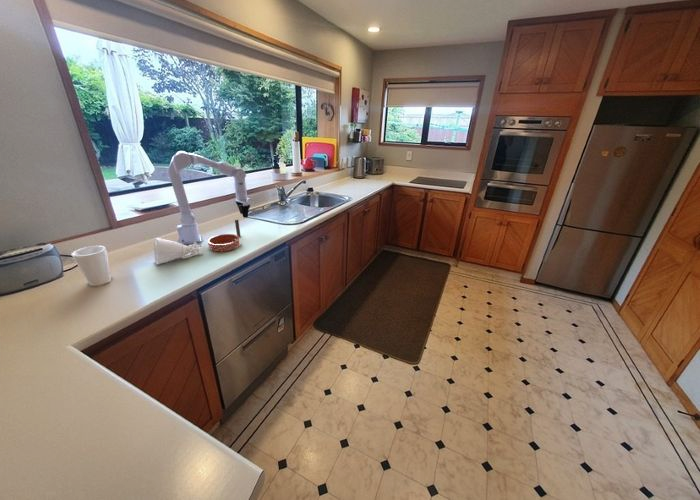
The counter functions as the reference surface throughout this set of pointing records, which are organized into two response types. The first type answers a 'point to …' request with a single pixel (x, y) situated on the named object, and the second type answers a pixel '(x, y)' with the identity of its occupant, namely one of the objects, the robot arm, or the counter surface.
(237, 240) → the bowl
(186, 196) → the robot arm
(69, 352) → the counter surface
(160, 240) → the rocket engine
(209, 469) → the counter surface
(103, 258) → the foam cup
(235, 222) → the stick
